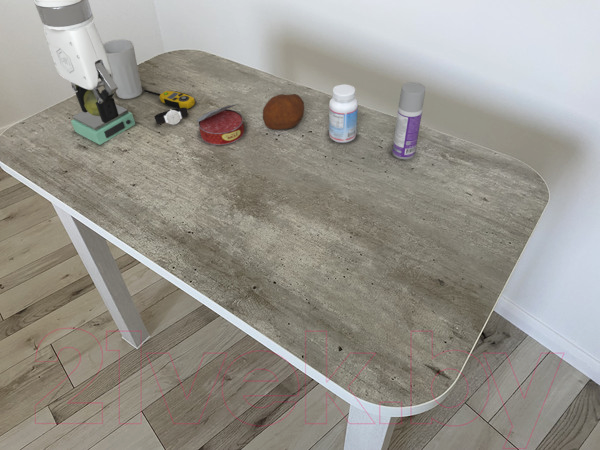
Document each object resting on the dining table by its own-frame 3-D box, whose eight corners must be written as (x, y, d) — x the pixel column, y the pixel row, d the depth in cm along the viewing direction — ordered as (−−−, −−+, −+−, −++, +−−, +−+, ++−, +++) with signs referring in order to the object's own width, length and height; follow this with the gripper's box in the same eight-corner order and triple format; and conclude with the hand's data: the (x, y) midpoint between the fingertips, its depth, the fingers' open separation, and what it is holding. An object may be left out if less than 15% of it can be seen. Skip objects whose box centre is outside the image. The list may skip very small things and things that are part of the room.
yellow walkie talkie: (185, 104, 114) (136, 90, 119) (186, 111, 115) (138, 97, 120) (197, 95, 117) (149, 82, 122) (198, 102, 118) (150, 89, 123)
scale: (100, 145, 106) (96, 134, 104) (75, 132, 110) (70, 120, 108) (136, 124, 112) (133, 113, 109) (110, 112, 116) (107, 101, 114)
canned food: (210, 160, 109) (181, 130, 102) (215, 131, 115) (189, 101, 108) (252, 142, 104) (225, 109, 98) (255, 112, 111) (230, 80, 104)
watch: (159, 130, 110) (155, 116, 107) (153, 120, 113) (149, 106, 110) (191, 120, 112) (188, 107, 110) (185, 111, 115) (182, 98, 113)
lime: (98, 106, 89) (89, 82, 86) (119, 111, 88) (112, 86, 85) (82, 119, 86) (72, 93, 83) (104, 124, 85) (95, 98, 82)
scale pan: (95, 131, 104) (94, 127, 104) (73, 119, 108) (72, 116, 107) (128, 112, 109) (127, 109, 109) (106, 102, 113) (105, 99, 112)
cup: (127, 82, 126) (114, 37, 118) (152, 88, 124) (140, 42, 115) (106, 96, 121) (91, 50, 113) (131, 103, 119) (117, 56, 110)
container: (414, 147, 103) (426, 82, 92) (414, 160, 99) (426, 94, 89) (392, 145, 103) (401, 80, 93) (391, 158, 100) (400, 93, 90)
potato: (313, 122, 111) (313, 92, 105) (282, 143, 105) (280, 113, 100) (286, 110, 115) (285, 80, 109) (254, 129, 109) (251, 99, 104)
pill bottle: (352, 126, 109) (354, 80, 101) (359, 142, 105) (362, 95, 97) (325, 129, 108) (326, 83, 100) (331, 145, 104) (332, 98, 96)
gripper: (13, 6, 76) (55, 108, 89) (76, 32, 69) (113, 139, 81) (55, -8, 80) (90, 91, 93) (119, 16, 73) (147, 120, 86)
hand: (100, 113), depth 87 cm, fingers closed on lime, 5 cm apart
